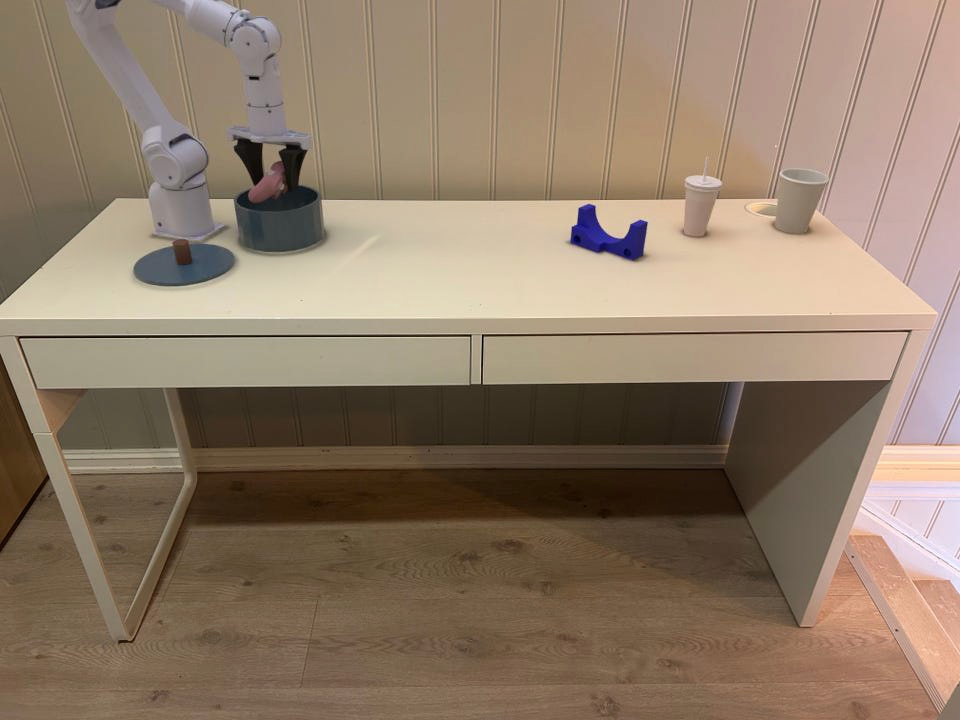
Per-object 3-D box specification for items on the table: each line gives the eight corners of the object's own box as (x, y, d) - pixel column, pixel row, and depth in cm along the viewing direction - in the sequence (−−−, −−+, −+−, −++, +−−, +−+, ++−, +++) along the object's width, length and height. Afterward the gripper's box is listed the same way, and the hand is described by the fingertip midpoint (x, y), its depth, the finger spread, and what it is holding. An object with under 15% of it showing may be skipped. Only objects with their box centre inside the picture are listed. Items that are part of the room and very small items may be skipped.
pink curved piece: (269, 214, 119) (282, 178, 115) (244, 200, 119) (256, 164, 115) (294, 195, 127) (307, 160, 124) (271, 181, 127) (283, 147, 123)
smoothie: (673, 236, 131) (686, 158, 124) (679, 224, 137) (692, 149, 129) (709, 241, 129) (725, 163, 122) (714, 229, 135) (729, 153, 127)
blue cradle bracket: (570, 242, 128) (573, 210, 125) (585, 235, 131) (588, 203, 128) (628, 263, 121) (632, 229, 118) (642, 255, 124) (647, 221, 121)
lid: (113, 280, 112) (105, 253, 109) (176, 244, 124) (170, 219, 122) (197, 295, 108) (191, 268, 106) (253, 256, 120) (249, 231, 118)
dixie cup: (815, 239, 132) (830, 185, 126) (766, 232, 134) (779, 178, 129) (814, 223, 138) (828, 171, 133) (767, 216, 141) (780, 165, 135)
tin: (223, 248, 123) (216, 205, 119) (268, 219, 135) (263, 179, 131) (298, 260, 120) (293, 217, 116) (338, 229, 131) (335, 189, 127)
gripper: (209, 104, 113) (224, 189, 120) (292, 113, 110) (302, 200, 117) (235, 95, 119) (248, 176, 126) (315, 103, 115) (323, 186, 123)
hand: (275, 187), depth 122 cm, fingers closed on pink curved piece, 6 cm apart
